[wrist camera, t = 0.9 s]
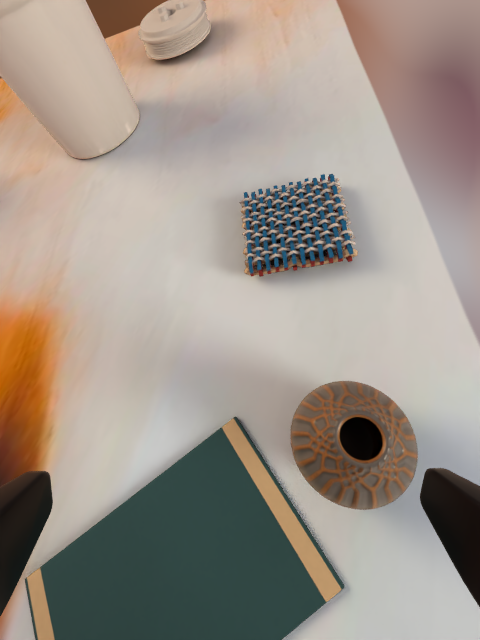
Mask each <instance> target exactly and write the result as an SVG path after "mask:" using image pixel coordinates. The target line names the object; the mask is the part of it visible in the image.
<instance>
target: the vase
mask: <svg viewBox="0 0 480 640" xmlns="http://www.w3.org/2000/svg"><path fill="white" fill-rule="evenodd" d="M291 447H292V452H293V456H294V459H295V461H296V464H297V466H298V468H299V470H300V472H301V473H302V475H303V476H304V478H305V479H306V480H307V482H308V483H309V484H310V485H311V486H312V487H313V488H314V489H315V490H316V491H317V492H318V493H319V494H321V495H322V496H323V497H325V498H326V499H328V500H330V501H332V502H334V503H336V504H338V505H341V506H344V507H348V508H352V509H360V510H367V509H375V508H379V507H382V506H385V505H387V504H389V503H391V502H393V501H394V500H396V499H397V498H398V497H399V496H400V495H402V494H403V493H404V491H405V490H406V489H407V488H408V486H409V485H410V483H411V481H412V479H413V477H414V474H415V471H416V466H417V458H418V452H417V443H416V438H415V435H414V432H413V429H412V427H411V424H410V422H409V421H408V419H407V417H406V416H405V414H404V413H403V411H402V410H401V409H400V408H399V406H398V405H397V404H396V403H395V402H394V401H393V400H391V399H390V398H389V397H388V396H386V395H385V394H384V393H382V392H381V391H379V390H377V389H375V388H373V387H371V386H368V385H366V384H362V383H358V382H352V381H337V382H332V383H328V384H325V385H322V386H320V387H318V388H316V389H315V390H313V391H312V392H311V393H309V394H308V395H307V396H306V397H305V398H304V399H303V400H302V402H301V403H300V405H299V406H298V408H297V410H296V412H295V414H294V417H293V420H292V425H291Z"/></svg>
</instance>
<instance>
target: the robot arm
mask: <svg viewBox="0 0 480 640" xmlns="http://www.w3.org/2000/svg"><path fill="white" fill-rule="evenodd" d="M420 501H421V504H422V507H423V509H424V511H425V513H426V515H427V516H428V518H429V520H430V522H431V524H432V525H433V527H434V529H435V531H436V533H437V535H438V536H439V538H440V540H441V542H442V544H443V546H444V547H445V549H446V551H447V553H448V555H449V557H450V558H451V560H452V562H453V564H454V566H455V568H456V569H457V571H458V573H459V575H460V576H461V578H462V580H463V582H464V583H465V585H466V586H467V588H468V590H469V591H470V593H471V594H472V596H473V598H474V599H475V601H476V602H477V604H478V605H479V607H480V486H478V485H476V484H474V483H472V482H470V481H469V480H467V479H465V478H463V477H461V476H459V475H457V474H455V473H453V472H451V471H449V470H447V469H443V468H430V469H427V471H426V472H425V475H424V480H423V484H422V489H421V493H420ZM52 503H53V500H52V490H51V480H50V475H49V473H48V472H46V471H29V472H26V473H24V474H22V475H20V476H19V477H17V478H15V479H14V480H12V481H10V482H8V483H7V484H5V485H3V486H1V487H0V616H1V614H2V612H3V610H4V609H5V607H6V605H7V603H8V601H9V599H10V597H11V595H12V593H13V591H14V589H15V587H16V585H17V583H18V581H19V579H20V577H21V575H22V572H23V570H24V568H25V566H26V564H27V562H28V560H29V558H30V555H31V553H32V551H33V549H34V547H35V545H36V543H37V540H38V538H39V536H40V534H41V532H42V530H43V528H44V526H45V523H46V521H47V519H48V517H49V515H50V512H51V509H52Z"/></svg>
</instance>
